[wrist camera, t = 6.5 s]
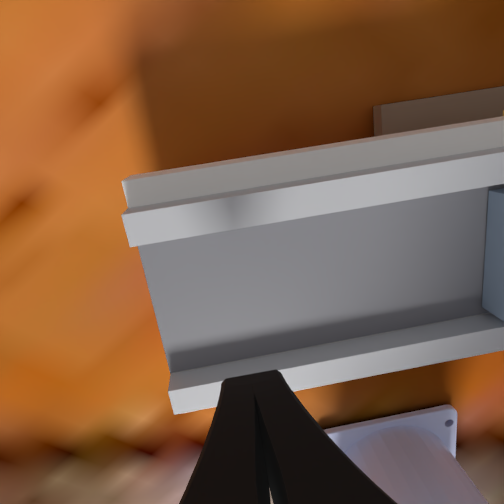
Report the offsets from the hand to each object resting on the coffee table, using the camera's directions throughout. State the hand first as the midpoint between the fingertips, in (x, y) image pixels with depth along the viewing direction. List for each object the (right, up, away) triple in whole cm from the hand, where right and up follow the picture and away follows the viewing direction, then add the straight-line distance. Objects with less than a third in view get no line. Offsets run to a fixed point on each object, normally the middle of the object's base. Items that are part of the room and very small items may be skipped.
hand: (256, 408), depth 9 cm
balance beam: (+12, +6, +9) cm, 16 cm away
